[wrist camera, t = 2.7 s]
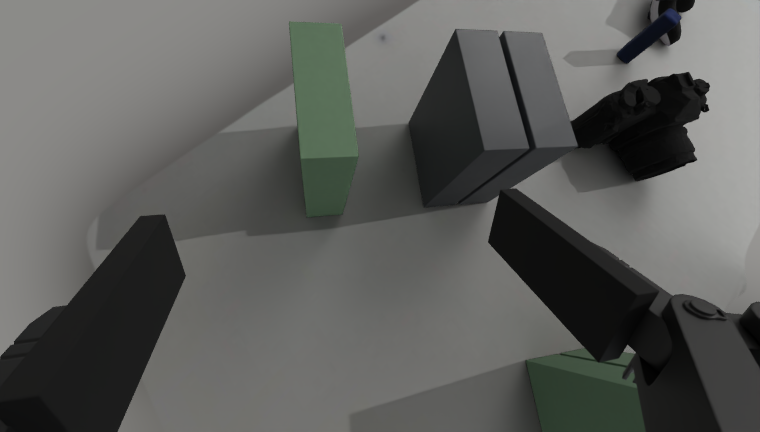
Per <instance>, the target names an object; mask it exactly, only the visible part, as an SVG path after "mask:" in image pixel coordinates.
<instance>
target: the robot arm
mask: <svg viewBox="0 0 760 432" xmlns="http://www.w3.org/2000/svg"><path fill="white" fill-rule="evenodd" d="M488 243H489V244H490V245H491V246H492V247H493V248H494V249H495V250H496V251H497V253H498V254H499V255H500V256H501V257H502V258H503V259H504V260H505V261H506V262H507V263H508V265H509V266H510V267H511V268H512V269H513V270H514V271H515V272H516V273H517V274H518V275H519V277H520V278H521V279H522V280H523V281H524V282H525V283H526V284H527V285H528V286H529V287H530V289H531V290H532V291H533V292H534V293H535V294H536V295H537V296H538V297H539V298H540V299H541V301H542V302H543V303H544V304H545V305H546V306H547V307H548V308H549V309H550V310H551V311H552V313H553V314H554V315H555V316H556V317H557V318H558V319H559V320H560V321H561V322H562V324H563V325H564V326H565V327H566V328H567V329H568V330H569V331H570V332H571V333H572V334H573V336H574V337H575V338H576V339H577V340H578V341H579V342H580V343H581V344H582V345H583V346H584V348H585V349H586V350H587V351H588V352H589V353H590V354H591V355H592V356H593V357H594V358H595V360H596V361H597V362H598V363H600V362H605V361H609V360H614V359H618V358H620V356H621V354H622V353H623V351H624V349H625V348H626V346H627V344H628V345H629V346H630V347H631V348H632V349H633V350H634V351H635V352H636V353H635V355H634V356H633V358H632V359H631V361H630V362H629V364H628V366H627V367H626V369H625V370H624V372H623V375H622V379H624V380H627V378H628V377H629V375H630V374H631V373H634V375H635V378H634V380H633V381H632V383H635V384H636V385H637V390H638V395H639V400H640V406H641V411H642V416H643V421H644V426H645V431H646V432H760V302H755V303H752V304H751V305H750V306H749V307H748V309H747V310H746V311H745V312H744V313H743V315H741V314H731V313H725V312H724V311H722V310H721V309H720V308H718V307H717V306H715V305H713V304H711V303H709V302H707V301H705V300H703V299H700V298H697V297H694V296H690V295H684V294H679V295H674V296H672V295H670V294H669V293H668V292H666V291H665V290H663V289H662V288H661V287H659V286H658V285H656V284H655V283H653V282H652V281H651V280H649V279H648V278H646V277H645V276H643V275H642V274H641V273H639V272H638V271H636V270H635V269H633V268H630V267H629V265H628V264H626V263H625V262H623V261H622V260H619V258H618V257H616V256H615V255H614V254H612V253H611V252H609V251H608V250H606V249H605V248H602V247H600V246H598V245H596V244H594V243H592V242H590V241H589V240H587V239H586V238H585V237H583V236H582V235H580V234H579V233H578V232H576V231H575V230H573V229H572V228H571V227H569V226H568V225H566V224H565V223H564V222H562V221H561V220H559V219H558V218H557V217H555V216H554V215H552V214H551V213H550V212H548V211H547V210H545V209H544V208H543V207H541V206H540V205H538V204H537V203H536V202H534V201H533V200H531V199H530V198H529V197H527V196H526V195H524V194H523V193H522V192H520V191H519V190H517V189H503V190H500V194H499V198H498V202H497V206H496V211H495V215H494V219H493V223H492V227H491V232H490V236H489V240H488ZM185 276H186V275H185V272H184V269H183V266H182V263H181V260H180V257H179V254H178V251H177V248H176V245H175V242H174V239H173V236H172V233H171V231H170V228H169V225H168V222H167V219H166V216H165V215H151V216H140V217H139V219H138V220H137V221H136V222H135V223H134V225H133V226H132V227H131V228H130V229H129V231H128V232H127V233H126V234H125V236H124V237H123V238H122V239H121V240H120V242H119V243H118V244H117V245H116V247H115V248H114V249H113V250H112V251H111V253H110V254H109V255H108V256H107V257H106V259H105V260H104V261H103V262H102V264H101V265H100V266H99V267H98V268H97V270H96V271H95V272H94V273H93V275H92V276H91V277H90V278H89V279H88V281H87V282H86V283H85V284H84V285H83V287H82V288H81V289H80V291H79V292H78V293H77V294H76V295H75V296H74V298H73V299H72V300H71V301H70V303H69V304H68V305H67V306H59V307H53V308H52V309H50V310H49V311H47V312H46V313H44V314H43V315H41V316H40V317H39V318H37V319H36V320H35V321H33V322H32V323H30V324H29V325H28V326H27V328H26V329H25V330H24V331H23V332H22V333H21V334H20V335H19V337H18V338H17V339H16V340H15V341H14V345H11V346H10V347H9V348H8V349H7V350H6V351H5V352H4V353H3V354H2V355H1V357H0V432H118V429H119V427H120V425H121V422H122V420H123V418H124V416H125V413H126V411H127V409H128V406H129V404H130V402H131V400H132V397H133V395H134V393H135V391H136V388H137V386H138V384H139V381H140V379H141V377H142V375H143V372H144V370H145V368H146V365H147V363H148V361H149V359H150V356H151V354H152V352H153V349H154V347H155V345H156V343H157V340H158V338H159V336H160V333H161V331H162V329H163V327H164V324H165V322H166V320H167V318H168V315H169V313H170V311H171V308H172V306H173V304H174V302H175V299H176V297H177V295H178V292H179V290H180V288H181V286H182V283H183V281H184V279H185Z"/></svg>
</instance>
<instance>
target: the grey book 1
mask: <svg viewBox="0 0 760 432" xmlns="http://www.w3.org/2000/svg"><path fill="white" fill-rule="evenodd" d="M409 128H410V133H411V139H412V145H413V150H414V156H415V162H416V167H417V173H418V178H419V184H420V190H421V195H422V201H423V207H436V206H448V205H455V204H456V203H457V202H459V201H460V200H461V199H463V198H464V197H465V196H467V195H468V194H470V193H471V192H472V191H474V190H475V189H476V188H478V187H479V186H480V185H482V184H483V183H484V182H486V181H487V180H488V179H490V178H491V177H492V176H494V175H495V174H496V173H498V172H499V171H500V170H502V169H503V168H504V167H506V166H507V165H508V164H510V163H511V162H512V161H514V160H515V159H516V158H518V157H519V156H520V155H522V154H523V153H524V152H526V151H527V150H528V149H529V145H528V141H527V137H526V134H525V130H524V126H523V123H522V119H521V116H520V112H519V108H518V105H517V101H516V97H515V94H514V90H513V87H512V83H511V79H510V76H509V72H508V68H507V65H506V61H505V57H504V54H503V50H502V47H501V43H500V39H499V36H498V32H497V31H492V30H469V29H455V31H454V33H453V35H452V37H451V39H450V41H449V43H448V45H447V47H446V49H445V51H444V53H443V55H442V57H441V59H440V61H439V63H438V65H437V67H436V69H435V71H434V73H433V75H432V77H431V79H430V81H429V83H428V85H427V87H426V89H425V91H424V93H423V95H422V97H421V99H420V101H419V103H418V105H417V107H416V109H415V111H414V113H413V115H412V117H411V119H410V121H409Z"/></svg>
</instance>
